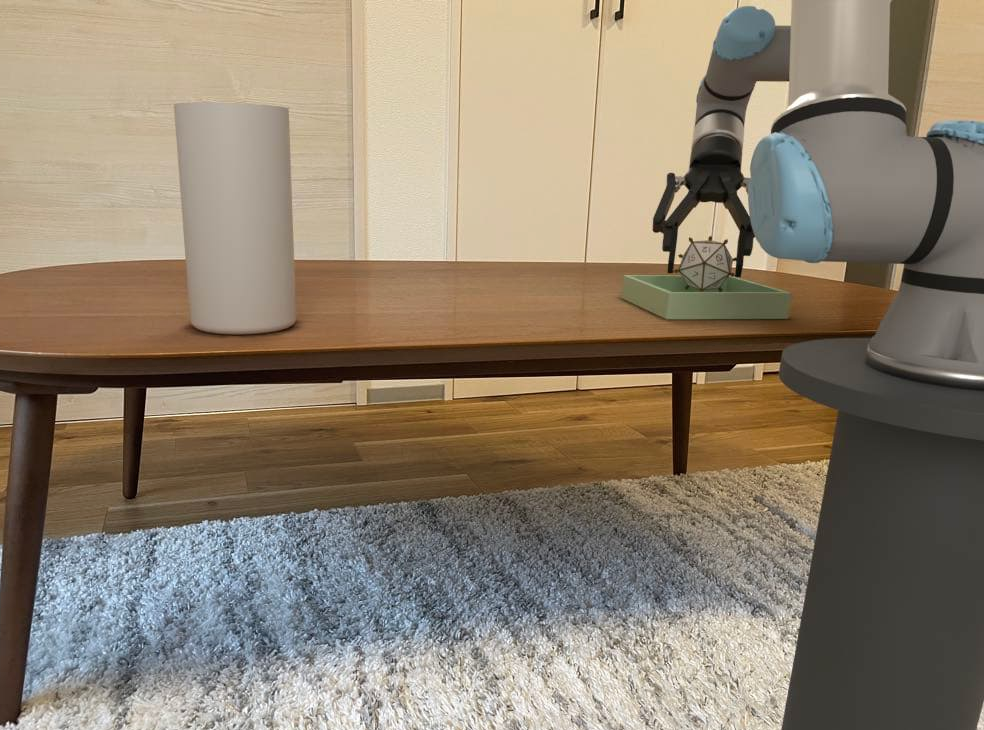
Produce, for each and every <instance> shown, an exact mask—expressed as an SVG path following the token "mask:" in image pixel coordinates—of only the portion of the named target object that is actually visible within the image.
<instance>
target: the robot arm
mask: <svg viewBox="0 0 984 730" xmlns="http://www.w3.org/2000/svg"><path fill="white" fill-rule="evenodd" d="M892 1H893V0H791V6H790V7H791V10H790V11H791V12H790V25H776V21H775V18H774V16H773V15H772V14H771V13H770V12H769V11H767V10H766V9H764V8H761V9H759V8H757V7H756V6H755V5H745V6H740V7H736V8H733V9H732V10H730V11H729V12H728V13H727V14H726V15H725V16H724V17H723V18H722V21H721V23H720V25H719V27H718V30H717V33H716V36H715V39H714V40H713V44H712V50H711V53H710V58H709V62H708V65H707V70H706V74H705V75H704V76H703V77H702V79H701V81H700V83H699V87H698V90H697V91H698V92H697V94H696V100H695V102H696V110H695V118H694V119H695V120H694V127H693V130H692V131H693V132H692V140H691V148H690V149H691V151H690V155H689V166H688V170H687V172H686V173H685V174H684V175H677V176H676V174H675V173H674V172H667V174H666V183H665V189H664V191H663V194H662V196H661V198H660V201H659V203H658V206H657V208H656V210H655V213H654V215H653V217H652V232H653V233H655V234H658V233H661V234H662V235H663V236H662V246H661V249H662V252H666V253H668V261H667V274H670V275H674V272H673V271H674V268H675V267H674V266H675V261H676V260H675V258H676V251H677V244H678V234H679V228H680V226H681V225H682V224H683V222H684V221H685V219H687V218H688V216H689V215H690V214H691V212H692V211H693V210H694V209H695V208H696V207H697V206H698V205H699V204H700V203H710V202H711V203H716V204H723V207H724V208H725V210H727V211H728V213H729V214H730V217H731V218H732V219H733V222H734V223H735V225H736V227H737V229H738V232H739V233H738V239H737V245H736V246H737V247H736V261H735V270H734V274H735V276H734V277H737V278H741V279H742V272H743V267H744V260H745V259H744V258H745V257H750V256H751V255H752V252H753V248H754V239H756V241H757V243H758V244H759V246H760V248H761V249H762V250H763V251H764V252H765V253H766V254H767V255H769V256H771V257H772V258H775V259H779V260H792V261H803V262H805V263H808V264H819V263H821V262H827V263H828V262H831V263H858V264H859V263H863V264H864V263H865V264H894V265H903V267H902V268H903V269H902V273H901V279H900V284H899V288H898V291H897V293H896V295H895V297H893V300H892V302H891V304H890V305H889V308H888V309H887V310H886V313H885V314H884V316H883V318H882V320H881V322H880V323H879V326H878V328H877V330H876V332H875V334H874V335H872V337H870V338H871V340H870V343H869V345H868V348H867V354H866V359H865V362H866V363H867V365H869V366H870V367H872V368H873V369H875V370H878V371H880V372H883V373H885V374H889V375H892V376H895V377H899V378H903V379H906V380H911V381H915V382H920V383H925V384H930V385H936V386H943V387H949V388H957V389H965V390H975V391H984V121H977V120H976V121H975V120H942V121H941V120H940V121H937V122H935V123H933V124H932V126H930V128H929V131H928V132H927V133H926V136H909V135H908V133H907V108H906V106H905V105H904V103H903V102H902V101H900V100H899V99H897V98H896V97H894V96H892V95H890V93H889V73H890V72H889V67H890V64H889V63H890V23H891V21H890V20H891V3H892ZM757 82H770V83H771V82H777V83H779V82H781V83H782V82H783V83H787V82H788V107H786V109H785V110H784V111H782V112H781V113H780V114H779V115H778V116H777V117H776V118H775V119H774V120H773V122H772V123H771V127H770V134H769V135H765V136H763V137H762V138H761V139H760V140H759V141H758V143H757V144H756V146H755V148H754V150H753V153H752V157H751V161H750V165H749V173H750V177H746V176H745V175H744V174H743V173H742V161H743V149H744V137H745V122H746V115H747V110H748V105H749V102H750V100H751V97H752V94H753V92H754V90H755V86H756V84H757ZM682 186H684V187H685V188H686V189H687V194H686V195H685V196H684V197H683V198H682V200H681V201H680V203H679V204H678V205H677V206H676V207H675V209H674V210H673V212H671V214H670V215H669V217H668V218H667V216H668V214H669V211H670V209H671V207H672V204H673V201H674V199H675V195H676V193H678V192H679V191H680V189H681V187H682ZM742 187H743V188H744V189H745V193H746V194H747V201H748V202H747V204H748V211H747V209H746V207H745V205H744V204H743V203H742V201H741V199H740V197H739V195H738V191H739V190H740V189H742Z"/></svg>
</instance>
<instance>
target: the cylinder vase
mask: <svg viewBox="0 0 984 730" xmlns="http://www.w3.org/2000/svg"><path fill="white" fill-rule="evenodd" d="M173 111H174V125H175V138H176V140H175V141H176V153H177V165H178V178H179V191H180V203H181V205H180V206H181V216H182V229H183V241H184V242H183V243H184V244H183V245H184V256H185V269H186V270H185V271H186V283H187V295H188V296H187V297H188V309H189V310H188V311H189V320H190V324H191V325H192V327H194V328H195V329H196V330H199V331H202V332H205V333H209V334H216V335H233V336H235V335H238V336H239V335H240V336H241V335H242V336H243V335H260V334H269V333H274V332H279V331H283V330H285V329H289V328H290V327H291V326H293V325H294V324H295V322H296V320H297V303H296V302H297V301H296V275H295V273H296V272H295V269H296V268H295V247H294V246H295V245H294V218H293V214H294V213H293V191H292V190H293V188H292V163H291V162H292V161H291V159H292V158H291V134H290V133H291V132H290V131H291V130H290V108H289V107H286V106H285V107H284V106H279V105H268V104H257V103H256V104H255V103H254V104H253V103H239V102H238V103H237V102H209V101H208V102H207V101H206V102H205V101H204V102H201V101H200V102H199V101H198V102H197V101H196V102H177V103H174V104H173Z"/></svg>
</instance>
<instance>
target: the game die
mask: <svg viewBox="0 0 984 730" xmlns="http://www.w3.org/2000/svg"><path fill="white" fill-rule="evenodd" d="M688 242H690V244H689V246H688V247H687V248H686V250H685V251H684V254H682V253H679V254H677V256H678V258H680V263H679V267H678V268H676V269H673V273H674V274H678V273H679V275H682V277H683V278H684V280H685V281H686V283H687V284H688V285H686V287H685V290H686V289H688V288H689V286H690V287H693V288H696V289H699V290H701V291H700V292H703V290H709V289H716V288H718V289H719V292H722V290H723V289H722V288H721V286H722V284H723V283H724V282H725V280H726V279H727V278H728V277H729V275H730V276H732V277H733V276H734V277H735V272H732V268H733V262H736V258H737V256H735V257H732V255H731V253H730V251H729V249H728V248H727V246H726V245H727V244H728V243H729V239H728V238H727V239H724V240H723V242H721V241H715V240H713V237H712V235H710V236H708V238H707V240H695V241H694V239H693V237H690V236H689V237H688Z"/></svg>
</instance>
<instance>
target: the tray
mask: <svg viewBox="0 0 984 730" xmlns="http://www.w3.org/2000/svg"><path fill="white" fill-rule="evenodd" d="M686 285H688V284H687V283H686V281H685V280H684V278H683V277H682V275H681V274H679V275H678V274H624V275H622V286H621V287H622V288H621V299H622V300H624V301H627V302H629V303H631V304H633V305H635V306H637V307H639V308H641V309H644V310H646V311H648V312H650V313H652V314H653V315H654V314H655V315H656V316H658V317H660V318H663V319H664V320H788V319H789V317H790V310H791V304H792V297H793V292H790V291H786V290H783V289H779V288H776V287H772V286H768V285H765V284H762V283H758V282H755V281H751V280H748V279H744V278H742V277H741V278H740V277H735V276H733V277H732V276H730V275H729V277H728V278H727V279H726V280H725V282H724V283H723V284H722V286H721V288H722V289H723V290H722V292H719V289H718V288H716V289H709V290H703V292H700V291H701V290H699V289H696V288H693V287H690V286H689V288H688V289H686V290H685V287H686Z"/></svg>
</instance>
